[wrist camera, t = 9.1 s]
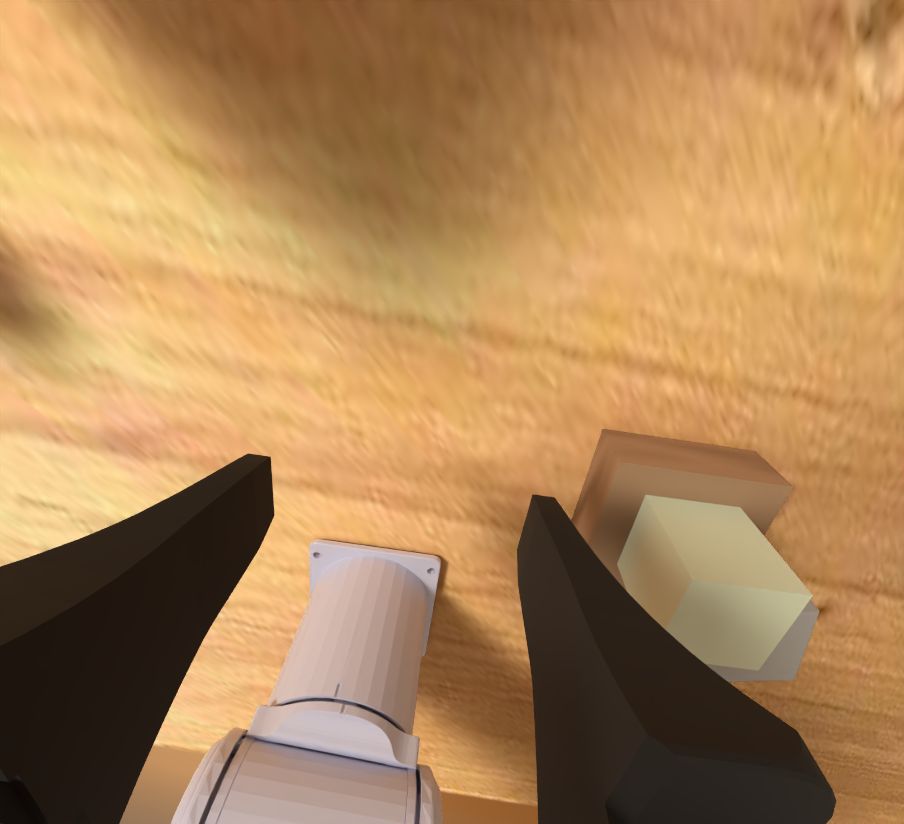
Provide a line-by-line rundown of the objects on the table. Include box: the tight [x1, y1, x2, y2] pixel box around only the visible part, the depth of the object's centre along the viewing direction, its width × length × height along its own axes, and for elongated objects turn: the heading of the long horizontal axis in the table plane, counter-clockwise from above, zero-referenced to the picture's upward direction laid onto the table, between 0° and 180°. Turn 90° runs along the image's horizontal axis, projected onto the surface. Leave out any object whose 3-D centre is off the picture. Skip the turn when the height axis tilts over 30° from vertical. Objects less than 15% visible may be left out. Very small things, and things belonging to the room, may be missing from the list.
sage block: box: [617, 495, 813, 671], centre depth 19 cm, size 4×4×5 cm
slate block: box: [706, 600, 819, 682], centre depth 26 cm, size 6×6×3 cm
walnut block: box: [571, 429, 793, 591], centre depth 23 cm, size 8×8×3 cm
